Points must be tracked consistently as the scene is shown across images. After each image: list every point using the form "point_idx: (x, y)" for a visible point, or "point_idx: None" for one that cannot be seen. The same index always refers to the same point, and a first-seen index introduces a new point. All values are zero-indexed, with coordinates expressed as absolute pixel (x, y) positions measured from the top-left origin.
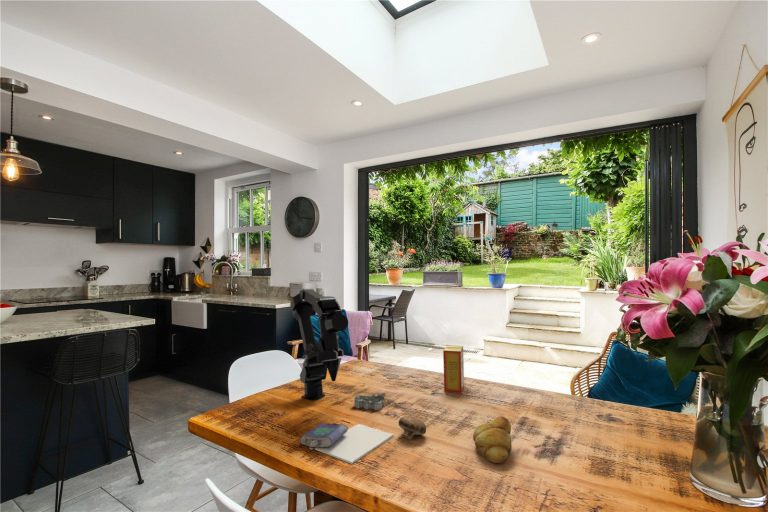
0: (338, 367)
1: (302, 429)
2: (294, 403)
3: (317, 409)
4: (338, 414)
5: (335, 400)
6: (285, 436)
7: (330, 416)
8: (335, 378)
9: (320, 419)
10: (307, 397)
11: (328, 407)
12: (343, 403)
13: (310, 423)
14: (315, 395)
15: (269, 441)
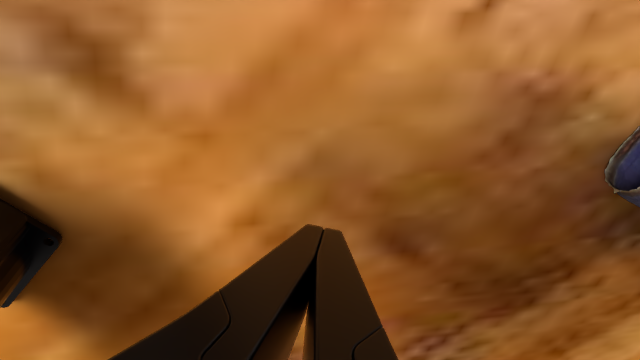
0: (259, 338)
1: (514, 251)
2: (117, 321)
3: (225, 198)
4: (343, 53)
5: (31, 79)
6: (563, 309)
7: (368, 111)
8: (348, 249)
9: (403, 171)
10: (27, 274)
11: (191, 129)
12: (99, 9)
13: (447, 221)
14: (18, 239)
15: (583, 353)
